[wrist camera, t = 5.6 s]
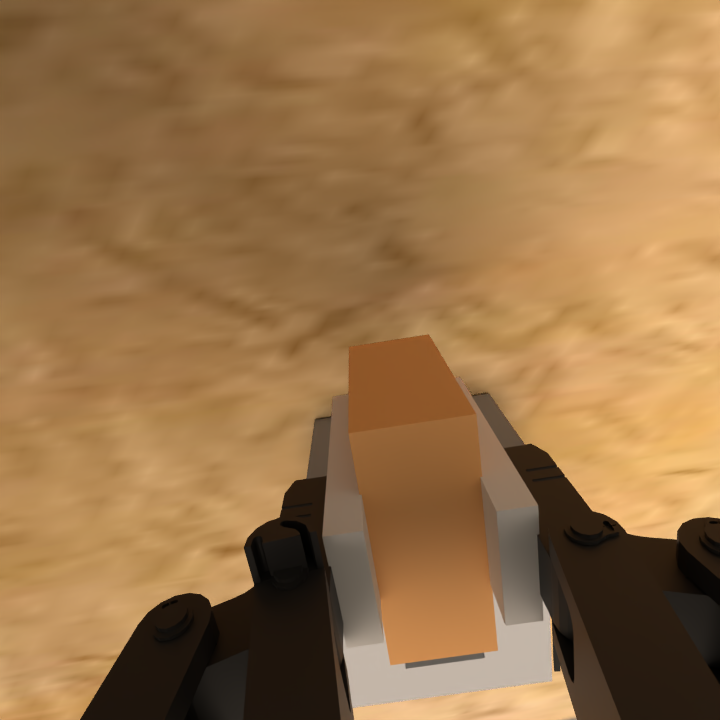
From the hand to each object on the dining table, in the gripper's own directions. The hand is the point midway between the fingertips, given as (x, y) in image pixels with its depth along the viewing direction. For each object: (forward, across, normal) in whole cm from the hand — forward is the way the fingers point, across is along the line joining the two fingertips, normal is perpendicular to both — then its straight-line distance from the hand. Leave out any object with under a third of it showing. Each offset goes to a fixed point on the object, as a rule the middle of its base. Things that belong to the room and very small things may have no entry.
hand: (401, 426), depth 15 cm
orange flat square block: (+1, 0, 0) cm, 1 cm away
